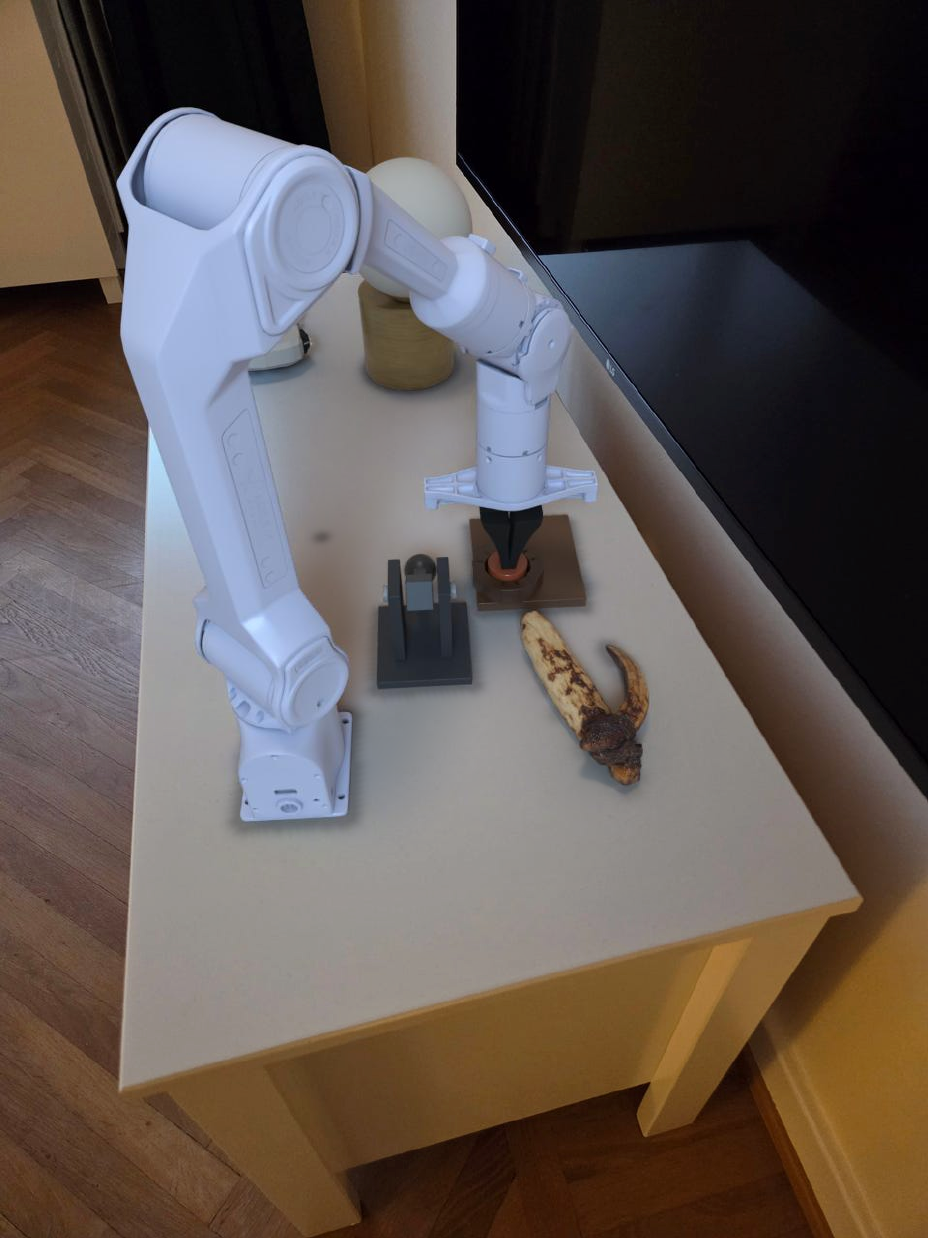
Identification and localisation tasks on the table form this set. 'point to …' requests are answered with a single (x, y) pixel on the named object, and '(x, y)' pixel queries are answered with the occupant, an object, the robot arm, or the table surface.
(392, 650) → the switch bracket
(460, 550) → the table surface
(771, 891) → the table surface
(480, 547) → the control block
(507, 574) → the warm button
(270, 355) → the robot toy
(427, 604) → the switch lever
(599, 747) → the lashed bone hook
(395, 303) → the lamp
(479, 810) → the table surface
